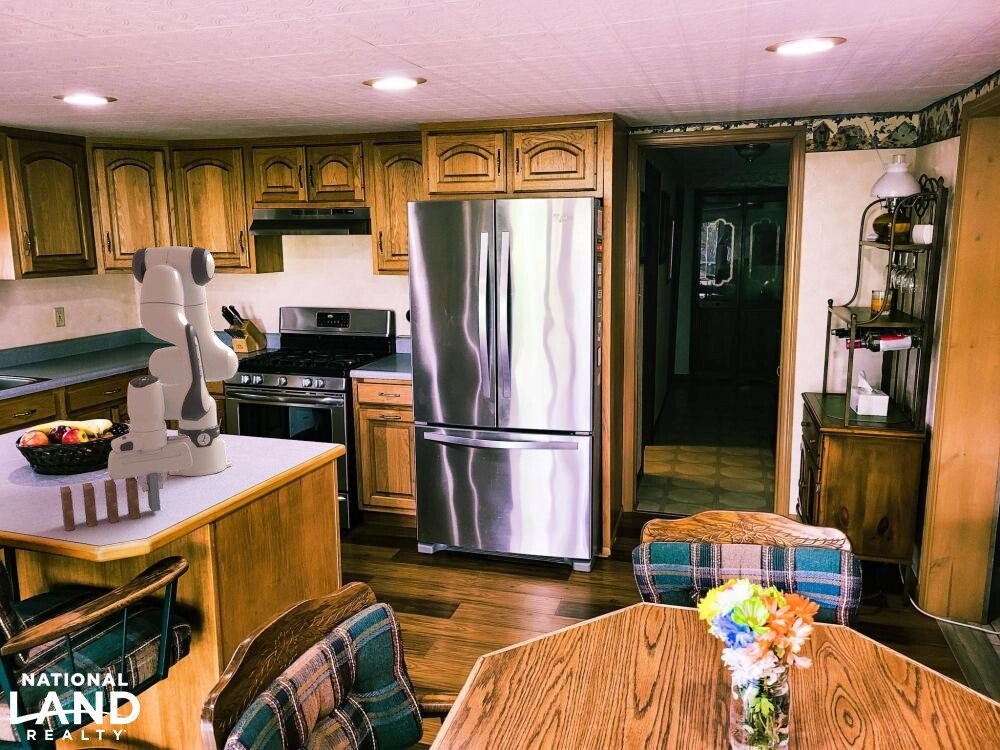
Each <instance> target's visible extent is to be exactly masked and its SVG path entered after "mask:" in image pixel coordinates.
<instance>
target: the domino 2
mask: <svg viewBox="0 0 1000 750" xmlns="http://www.w3.org/2000/svg"><path fill="white" fill-rule="evenodd" d="M81 485H82V493H83V494H82V495H83V505H84V514H85V522H86V525H87V526H88V528H94V527H97V526H98V516H97V515H98V514H97V505H96V496H95V487H94V485H93V484H92V482H86V483H82V484H81Z"/></svg>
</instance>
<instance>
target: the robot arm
mask: <svg viewBox="0 0 1000 750" xmlns="http://www.w3.org/2000/svg"><path fill="white" fill-rule="evenodd" d="M131 259H132V260H131V269H132V271H131V272H132V273H133V274H132V275H133V276H134V278H135V279H136V281H137V282H138V283H140V284H142V285H141V289H140V299H139V319H140V323H141V325H142V327H143V328H144V329H145V331H146V332H147V333H148V334H150V335H152V336H153V337H155V338H157V339H160V340H163V341H165V342H167V343H170V344H172V345H175V346H167V347H163V348H158V349H155V350H154V351H153V352H152V354H151V355H150V357H149V360H148V370H149V373H150V374H151V375H141V376H137V377H135V378H132V379H131V380H130V381H129V382H128V386H127V397H126V398H127V401H126V402H127V403H126V404H127V415H128V417H129V421H130V422H129V428H128V431H129V432H128V433H125V434H123V435H121V436H118V437H117V438H114V439H112V440H111V442H110V443H111V444H110V445H111V448H112V450H111V451H110V452H109V454H108V458H107V459H108V461H107V474H108V477H109V478H110V480H111V479H113V481H117V480H118V481H119V480H125V478H132V477H135V478H136V480H137V482H139V483H140V485H141V488H142V492H143V493H145V492H147V491H149V484H148V483H147V482H146V483H145V482H144V481H143V480H144V479H145V477H146V475H149V474H153V473H157V474H159V475H160V479H158V484H159V490H162V489H163V490H164V483H165V480H166V479H167V477H168V475H170V476H186V477H197V476H198V477H200V476H201V477H202V476H208V475H213V474H216V473H219V472H220V473H221V472H222V471H224V470H226V469H227V468H228V467H229V468H230V467H231V466H233V462H232V461H230V460H228V458H227V450H226V449H227V448H226V441H225V440H224V439H222V438H221V437H220V425H219V424H218V417H217V403H216V401H215V399H214V398H213V397H212V395H210V393H209V389H208V386H207V382H211V383H212V382H221V381H226V380H229V379H232V378H233V377H234V376H235V375H236V373H237V371H238V368H239V359H238V355H237V354H236V352H235V351H234V349H232V347H229V346H228V345H226V344H225V343H224V342H223V341H222V340H220V338H219V337H218V336H217V335H216V333H215V332H214V329H213V327H212V324H211V319H210V315H209V314H210V313H209V307H208V298H207V297H208V296H207V291H206V284H208V283H210V281H211V280H212V279H213V278H214V274H215V267H216V265H215V260H214V256H213V254H212V253H211V252H210V251H209V250H208V249H207V248H203V247H198V246H195V247H191V246H190V247H189V246H179V245H172V246H160V247H159V246H157V247H150V246H149V247H142V248H139V249H137V250H136V252H134V254H133V256H132V258H131ZM165 420H166V421H167V420H168V421H169V420H171V421H173V420H174V421H176V420H178V427H177V435H169V436H168V432H167V430H168V429H167V423H166V421H165Z"/></svg>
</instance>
